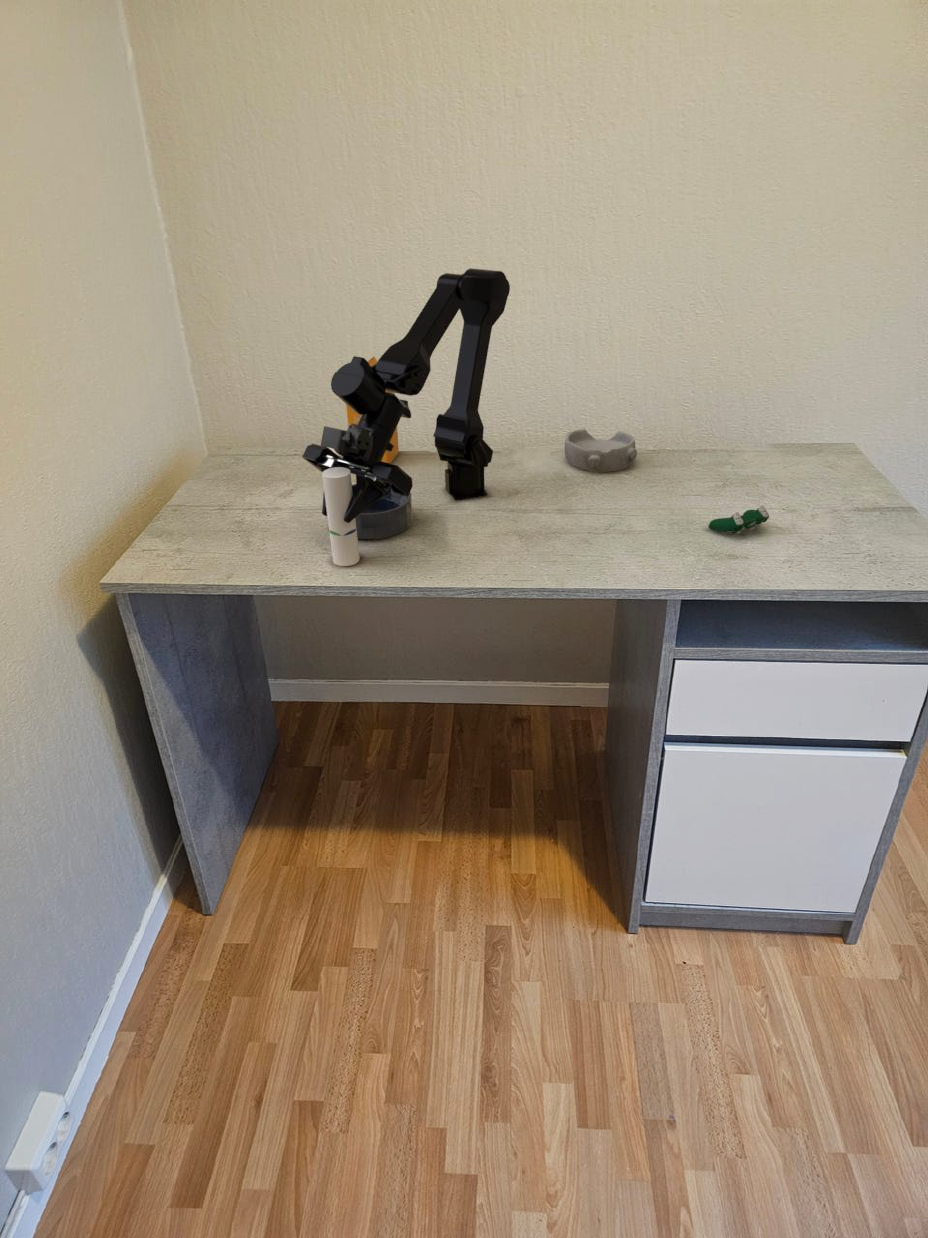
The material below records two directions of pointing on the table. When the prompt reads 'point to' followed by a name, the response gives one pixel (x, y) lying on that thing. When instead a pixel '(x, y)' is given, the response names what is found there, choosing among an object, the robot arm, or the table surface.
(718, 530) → the green elongated piece
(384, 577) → the table surface
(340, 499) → the tube
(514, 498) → the table surface
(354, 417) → the orange juice
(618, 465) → the dish
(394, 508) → the bowl
